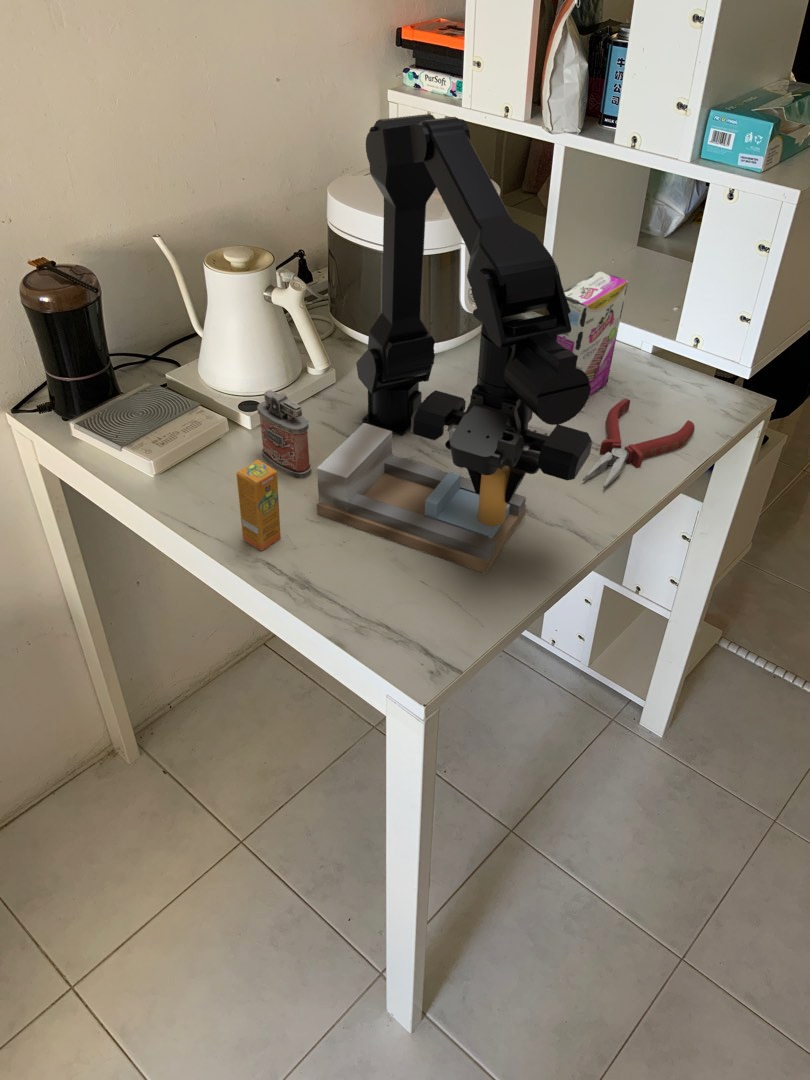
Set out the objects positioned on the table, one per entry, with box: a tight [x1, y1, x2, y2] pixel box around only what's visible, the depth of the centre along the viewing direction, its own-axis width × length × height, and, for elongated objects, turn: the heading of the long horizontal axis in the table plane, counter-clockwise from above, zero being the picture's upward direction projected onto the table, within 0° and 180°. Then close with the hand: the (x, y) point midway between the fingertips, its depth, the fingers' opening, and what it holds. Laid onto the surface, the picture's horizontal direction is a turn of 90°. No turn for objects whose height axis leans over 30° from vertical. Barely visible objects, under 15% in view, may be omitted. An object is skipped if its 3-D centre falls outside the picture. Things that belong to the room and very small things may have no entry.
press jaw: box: [425, 466, 510, 539], centre depth 100 cm, size 9×6×8 cm
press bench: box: [316, 423, 527, 574], centre depth 104 cm, size 22×12×6 cm, turn 62°
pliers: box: [582, 398, 696, 489], centre depth 116 cm, size 12×20×3 cm, turn 144°
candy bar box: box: [556, 271, 629, 397], centre depth 122 cm, size 11×5×16 cm, turn 139°
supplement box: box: [236, 459, 281, 551], centre depth 98 cm, size 3×3×10 cm
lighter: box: [256, 389, 312, 480], centre depth 110 cm, size 8×3×10 cm, turn 47°
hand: (493, 496), depth 99 cm, fingers closed on press jaw, 3 cm apart
